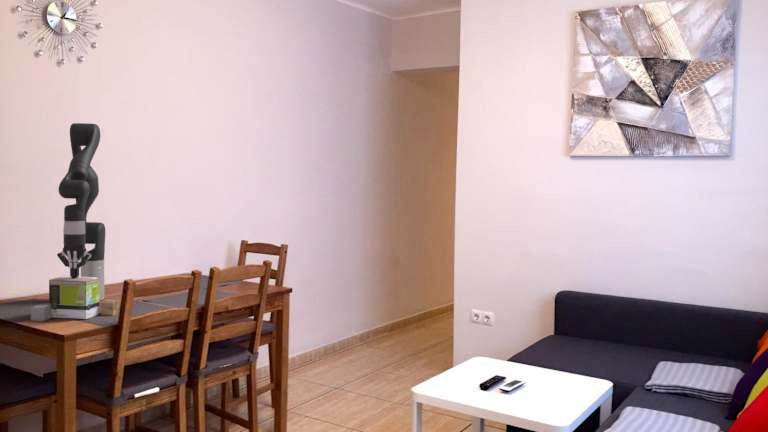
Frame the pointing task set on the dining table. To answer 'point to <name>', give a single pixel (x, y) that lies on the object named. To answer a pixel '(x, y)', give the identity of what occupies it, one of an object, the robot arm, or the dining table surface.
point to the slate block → (41, 312)
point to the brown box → (109, 307)
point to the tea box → (74, 297)
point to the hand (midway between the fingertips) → (74, 277)
